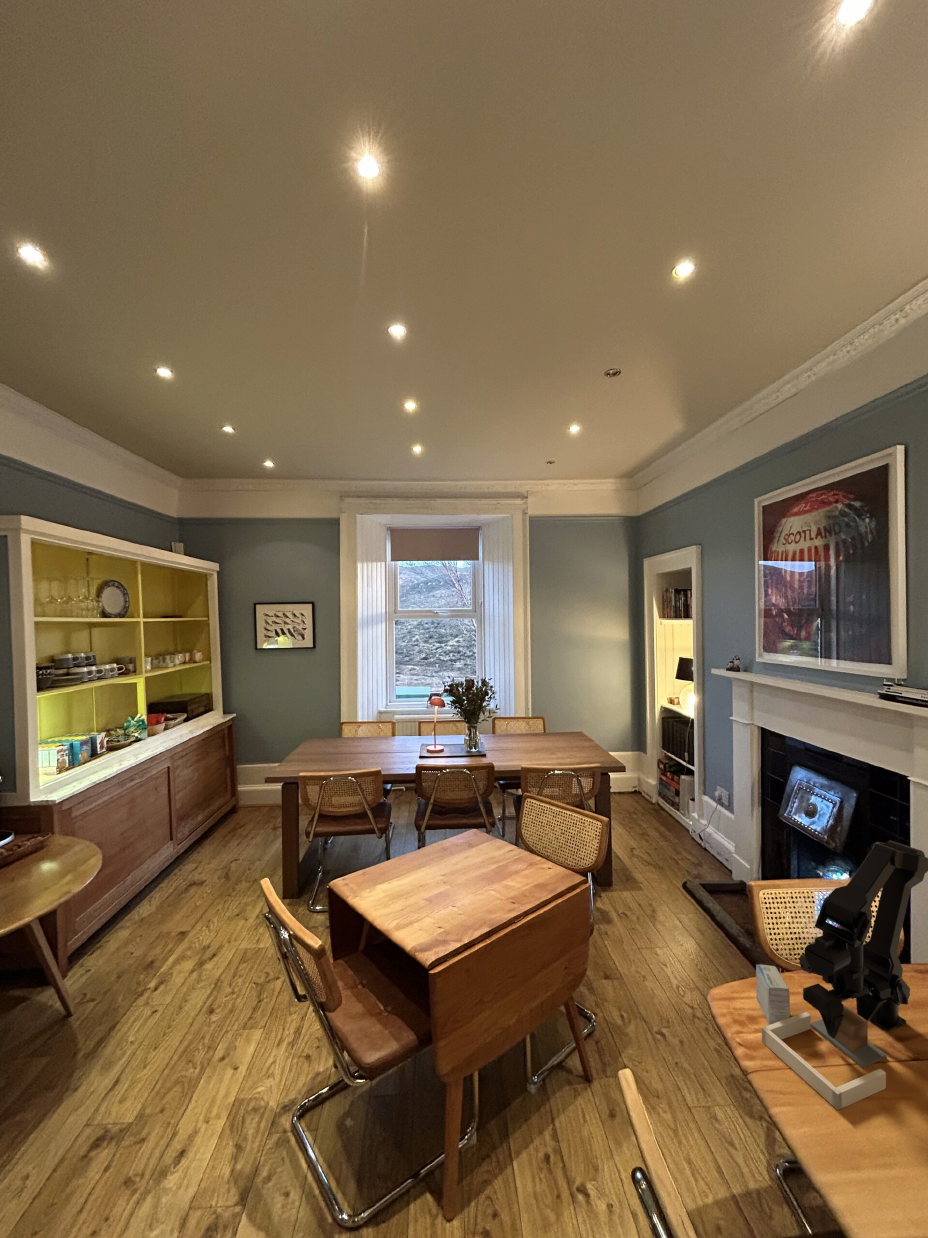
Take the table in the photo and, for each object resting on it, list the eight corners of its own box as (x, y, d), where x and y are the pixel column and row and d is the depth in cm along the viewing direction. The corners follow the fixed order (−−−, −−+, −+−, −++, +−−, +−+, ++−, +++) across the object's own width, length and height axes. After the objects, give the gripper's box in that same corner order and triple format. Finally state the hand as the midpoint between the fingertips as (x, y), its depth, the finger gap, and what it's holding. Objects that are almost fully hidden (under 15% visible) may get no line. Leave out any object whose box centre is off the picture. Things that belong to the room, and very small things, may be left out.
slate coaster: (832, 1018, 115) (832, 1015, 115) (886, 1058, 105) (886, 1055, 105) (810, 1026, 113) (810, 1023, 113) (862, 1068, 103) (862, 1065, 103)
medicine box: (790, 1029, 113) (790, 990, 112) (768, 1026, 113) (768, 987, 113) (776, 1002, 120) (776, 965, 120) (755, 999, 121) (755, 963, 121)
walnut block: (843, 1026, 112) (843, 1004, 112) (867, 1044, 107) (867, 1021, 107) (826, 1033, 111) (826, 1010, 110) (851, 1051, 106) (850, 1027, 106)
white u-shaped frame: (806, 1025, 113) (806, 1012, 113) (885, 1088, 98) (885, 1073, 98) (761, 1041, 109) (761, 1028, 109) (837, 1110, 94) (837, 1094, 94)
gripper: (839, 927, 119) (839, 993, 120) (779, 945, 113) (780, 1014, 114) (892, 957, 109) (892, 1030, 109) (829, 978, 103) (830, 1055, 103)
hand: (846, 1031), depth 109 cm, fingers open, 9 cm apart
